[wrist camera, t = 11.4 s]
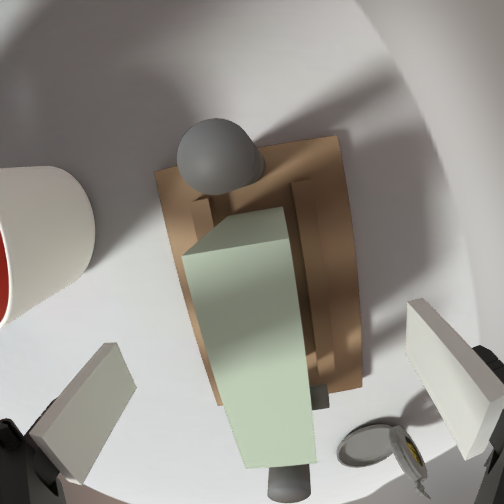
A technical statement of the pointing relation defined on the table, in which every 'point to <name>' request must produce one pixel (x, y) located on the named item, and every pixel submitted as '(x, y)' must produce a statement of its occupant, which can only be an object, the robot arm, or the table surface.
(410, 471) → the pocket watch
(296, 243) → the hinge board
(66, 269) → the cup
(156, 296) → the table surface
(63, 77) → the table surface
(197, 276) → the door
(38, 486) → the robot arm
